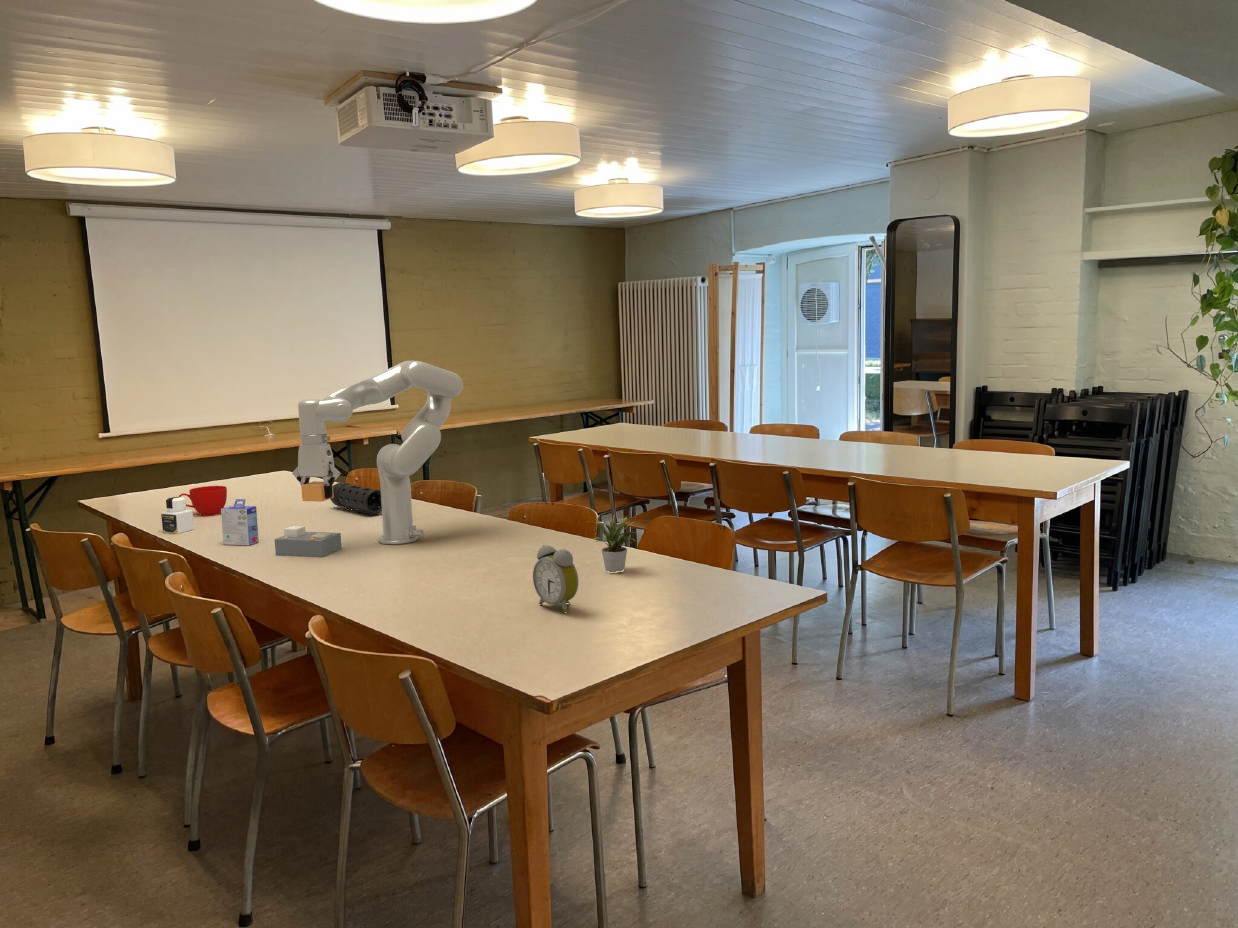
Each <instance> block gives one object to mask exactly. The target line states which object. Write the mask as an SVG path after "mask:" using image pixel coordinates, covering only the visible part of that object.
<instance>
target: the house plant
mask: <svg viewBox="0 0 1238 928" xmlns="http://www.w3.org/2000/svg"><path fill="white" fill-rule="evenodd" d="M615 517H616V513H614V514H613V516H612V520H611V518H609V519H608V520H609V524H607V522H606V521H605V520H604V519H602V518H600V517H599V519H601V520H603V522H604V523H605V525H603V524H602V522H601V521H600V520H597V519H596V521H595V522H593V521H592V523H593V524H595V525H597V526H598V528H599V530H600V531H602V534H603V535H604V536H605V539H606V540H604V539H603V538H601V537H599V536H596V537H594V538H593V539H592V541H594V540H595V541H594V543H596V542H597V543H598V542H603V543H605V545H606V546H605V547H602V548H601V554H602V558H603V564H604V569H605V572H606V571H609V572H616V571H622V570H623V569H624V570H625V566H626V560H627V553H628V548H627V547H625V546H623V545H624V543H630V544H631V545H632V541H631V540H633V541H634V542H635V543H636V542H637V540H636V539H635V538H633V537H629V536H631V535H633V534H637V532H636V531H628V532H627V531H626V532H623V531H625V529H627V528H628V527H629V526H630V525H631V524H633V523H635V522H637V521H631V523H630V524H628V525H626V521H627V520H628V518H629V516H624V517H623V518H622V519H621V520H619V522H618V523H617V525H616V526H615ZM587 522H588V523H590V522H591V521H588V520H587ZM606 528H607V530H606ZM622 530H623V531H622Z"/></svg>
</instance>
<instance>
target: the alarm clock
mask: <svg viewBox="0 0 1238 928" xmlns="http://www.w3.org/2000/svg"><path fill="white" fill-rule="evenodd" d="M536 559H537V561H536V562H535V565H534V567H533V570H532V580H533V581H532V582H533V585H534V589H535V591H536V593H537V595H538V596H539V598H540V599H539V603H538V605H539V604H542V605H543V604H544V603H546V604H548V605H559V604H560V606H561V608H562V610H563V612H567V613H568V607H567V604H566V603H569V604H570V600H572V599H573V598H574V597H575V595H577V592H578V589H579V575H578V571H577V568H576V566H575V564H574V557H573V554H572V552H571V551H570V550H567V549H565V548H564V549H558V550H557V549H555V547H553V546H550V545H545V544H543V545H542V546H541V547H540V548H539V549H538V550H537V553H536Z"/></svg>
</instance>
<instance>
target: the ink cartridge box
mask: <svg viewBox="0 0 1238 928" xmlns="http://www.w3.org/2000/svg"><path fill="white" fill-rule="evenodd" d="M246 500H247V499H245V498H244V499H243V498H236V499H235V501H234V504H233V505H230V506H229V505H228V506H224V508H221V512H220V514H221V515H220V516H221V528H222V529H221V530H222V543H223V545H225V546H226V545H228V546H229V545H230V546H252V545H254V544H258V543H259V542H260V541H259V540H260V539H259V526H258V525H259V524H258V511H257V506H255V505H245V504H246ZM240 502H242V503H240Z"/></svg>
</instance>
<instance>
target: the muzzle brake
mask: <svg viewBox="0 0 1238 928" xmlns="http://www.w3.org/2000/svg"><path fill="white" fill-rule="evenodd" d="M333 495H334V498H331V499H329V500H330V502H331V503H333V505H335V506H336V507H340V508H345V510H346V509H350V510H349V511H352V510H351V509H353V511H358V513H362V514H366V515H370V516H375V517H377V516H379V514H380V513H382V505H381V489H380V490H379V489H376V488H375V489H374V488H369V487H366V486H360V485H355V484H351V483H348V482H343V481H342V482H337V483H335V484H333Z"/></svg>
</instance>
